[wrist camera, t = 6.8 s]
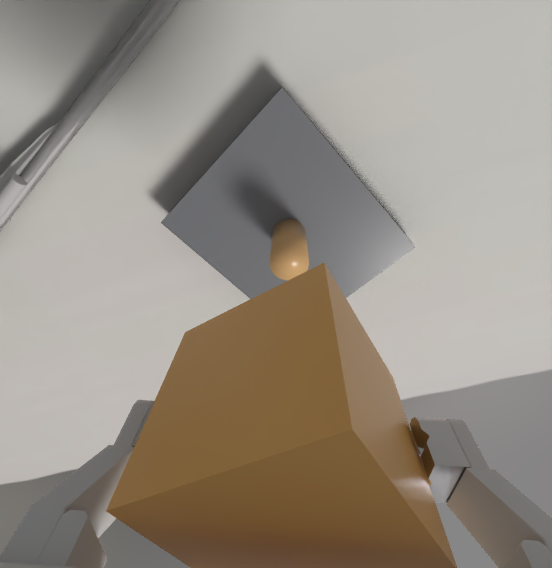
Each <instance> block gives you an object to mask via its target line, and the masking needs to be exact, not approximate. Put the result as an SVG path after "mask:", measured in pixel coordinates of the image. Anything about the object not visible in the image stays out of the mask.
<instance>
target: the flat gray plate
mask: <svg viewBox="0 0 552 568" xmlns="http://www.w3.org/2000/svg"><path fill="white" fill-rule="evenodd" d="M161 223H162V224H163V225H164V226H165V227H166V228H168V229H169V230H170V231H171V232H172V233H174V234H175V235H176V236H177V237H178V238H179V239H181V240H182V241H183V242H184V243H185V244H187V245H188V246H189V247H190V248H191V249H192V250H194V251H195V252H196V253H197V254H198V255H199V256H201V257H202V258H203V259H204V260H205V261H207V262H208V263H209V264H210V265H211V266H212V267H214V268H215V269H216V270H217V271H218V272H220V273H221V274H222V275H223V276H224V277H225V278H227V279H228V280H229V281H230V282H231V283H232V284H234V285H235V286H236V287H237V288H238V289H240V290H241V291H242V292H243V293H244V294H245V295H247V296H248V297H249V298H250V299H252V298H254V297H256V296H258V295H260V294H262V293H264V292H266V291H268V290H270V289H272V288H274V287H276V286H278V285H280V284H282V283H284V282H286V281H288V280H290V279H292V278H294V277H296V276H298V275H300V274H302V273H304V272H306V271H308V270H310V269H312V268H314V267H316V266H318V265H320V264H322V263H325V265H326V266H327V268H328V270H329V271H330V273H331V275H332V276H333V278H334V280H335V281H336V283H337V285H338V286H339V288H340V290H341V291H342V293H343V295H344V296H345V298H346V297H348V296H349V295H351V294H352V293H353V292H355V291H356V290H357V289H359V288H360V287H362V286H363V285H364V284H366V283H367V282H368V281H370V280H371V279H373V278H374V277H375V276H377V275H378V274H379V273H381V272H382V271H384V270H385V269H386V268H388V267H389V266H390V265H392V264H393V263H395V262H396V261H397V260H399V259H400V258H401V257H403V256H404V255H406V254H407V253H408V252H410V251H411V250H412V249H414V248H415V246H414V244H413V243H412V242H411V240H410V239H409V238H408V237H407V235H406V234H405V233H404V232H403V231H402V229H401V228H400V227H399V226H398V225H397V223H396V222H395V221H394V220H393V219H392V217H391V216H390V215H389V214H388V213H387V211H386V210H385V209H384V208H383V207H382V205H381V204H380V203H379V202H378V201H377V199H376V198H375V197H374V196H373V195H372V194H371V192H370V191H369V190H368V189H367V188H366V186H365V185H364V184H363V183H362V182H361V180H360V179H359V178H358V177H357V176H356V174H355V173H354V172H353V171H352V170H351V168H350V167H349V166H348V165H347V164H346V162H345V161H344V160H343V159H342V158H341V156H340V155H339V154H338V153H337V152H336V150H335V149H334V148H333V147H332V146H331V144H330V143H329V142H328V141H327V140H326V138H325V137H324V136H323V135H322V134H321V132H320V131H319V130H318V129H317V128H316V126H315V125H314V124H313V123H312V122H311V120H310V119H309V118H308V117H307V116H306V115H305V113H304V112H303V111H302V110H301V109H300V107H299V106H298V105H297V104H296V103H295V101H294V100H293V99H292V98H291V97H290V95H289V94H288V93H287V92H286V91H285V89H284V88H283V87H282V88H281V89H280V90H279V91H278V93H277V94H276V95H275V96H274V97H273V98H272V99H271V100H270V101H269V103H268V104H267V105H266V106H265V107H264V108H263V109H262V110H261V111H260V113H259V114H258V115H257V116H256V117H255V118H254V119H253V120H252V121H251V123H250V124H249V125H248V126H247V127H246V128H245V129H244V130H243V132H242V133H241V134H240V135H239V136H238V137H237V138H236V139H235V140H234V142H233V143H232V144H231V145H230V146H229V147H228V148H227V149H226V150H225V152H224V153H223V154H222V155H221V156H220V157H219V158H218V159H217V160H216V162H215V163H214V164H213V165H212V166H211V167H210V168H209V169H208V171H207V172H206V173H205V174H204V175H203V176H202V177H201V178H200V179H199V181H198V182H197V183H196V184H195V185H194V186H193V187H192V188H191V189H190V191H189V192H188V193H187V194H186V195H185V196H184V197H183V198H182V199H181V201H180V202H179V203H178V204H177V205H176V206H175V207H174V208H173V209H172V211H171V212H170V213H169V214H168V215H167V216H166V217H165V218H164V220H163V221H162V222H161Z"/></svg>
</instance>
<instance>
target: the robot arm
mask: <svg viewBox="0 0 552 568" xmlns="http://www.w3.org/2000/svg"><path fill="white" fill-rule="evenodd" d="M154 402H155V401H147V400H138V401H137V402H136V403H135V404H134V405H133V407H132V409H131V411H130V413H129V415H128V417H127V419H126V421H125V423H124V425H123V427H122V430H121V432H120V434H119V436H118V438H117V440H116V442H115V444H114V445H108V446H107V447H106V448H105V449H103V450H102V451H101V452H99V453H98V454H97V455H96V456H94V457H93V458H92V459H90V460H89V461H88V462H87V463H85V464H84V465H83V466H81V467H80V468H79V469H78V470H76V471H75V472H74V473H73V474H71V475H70V476H69V477H67V478H66V479H65V480H64V481H62V482H61V483H60V484H58V485H57V486H56V487H54V488H53V489H52V490H51V491H49V492H48V493H47V494H45V495H44V496H43V497H42V498H41V499H39V500H38V501H36V502H35V503H34V504H33V505H31V507H30V508H29V510H28V512H27V513H26V515H25V517H24V518H23V520H22V521H21V523H20V524H19V526H18V528H17V529H16V531H15V533H14V534H13V536H12V537H11V539H10V540H9V542H8V544H7V545H6V547H5V548H4V550H3V552H2V553H1V555H0V568H104V566H105V563H106V560H107V558H106V555H105V552H104V550H103V548H102V546H101V544H100V542H99V539H98V538H99V537H100V536H101V534H102V533H103V532H104V531H105V530H106V529H107V528H108V527H109V526H110V525H111V523H113V521H114V520H115V519H116V518H115V517H114V516H112V515H111V514H109V513H108V512H106V509H107V507H108V505H109V503H110V500H111V498H112V496H113V494H114V491H115V489H116V487H117V485H118V482H119V480H120V478H121V476H122V473H123V471H124V469H125V467H126V464H127V462H128V460H129V458H130V455H131V453H132V451H133V449H134V446H135V444H136V442H137V440H138V438H139V435H140V433H141V431H142V429H143V426H144V424H145V422H146V420H147V417H148V415H149V413H150V411H151V408H152V406H153V404H154ZM410 426H411V433H412V436H413V439H414V442H415V445H416V448H417V451H418V453H419V456H420V459H421V462H422V465H423V468H424V471H425V474H426V477H427V480H428V483H429V486H430V489H431V492H432V495H433V498H434V501H435V502H444V503H447V505H448V507H449V508H450V509H451V510H452V511H453V513H454V514H455V515H456V516H457V518H458V519H459V520H460V521H461V522H462V524H463V525H464V526H465V527H466V528H467V530H468V531H469V532H470V533H471V535H472V536H473V537H474V538H475V539H476V541H477V542H478V543H479V544H480V545H481V547H482V548H483V549H484V550H485V551H486V553H487V554H488V555H489V556H490V557H491V559H492V560H493V561H494V562H495V564H496V565H497V566H498V567H499V568H552V518H551V517H550V516H549V515H547V514H546V513H545V512H544V511H542V509H540V508H539V507H538V506H537V505H536V504H534V503H533V502H532V501H531V500H530V499H529V498H527V497H526V496H525V495H524V494H523V493H521V492H520V491H519V490H518V489H517V488H516V487H515V486H513V485H512V484H511V483H510V482H509V481H508V480H506V479H505V478H504V477H503V476H502V475H500V474H499V473H498V472H497V471H496V470H493V469H489V467H488V465H487V463H486V461H485V459H484V457H483V455H482V453H481V451H480V450H479V448H478V446H477V444H476V442H475V440H474V438H473V436H472V434H471V432H470V431H469V429H468V427H467V425H466V423H465V422H464V421H463V420H455V419H443V418H422V417H421V418H420V417H414V418H413V419H412V420H411V423H410Z"/></svg>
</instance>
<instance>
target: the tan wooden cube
mask: <svg viewBox="0 0 552 568" xmlns="http://www.w3.org/2000/svg"><path fill="white" fill-rule="evenodd" d="M106 512H108V513H109V514H111V515H112V516H114V517H115V518H117V519H119V520H120V521H121V522H123V523H125V524H126V525H128V526H129V527H130V528H132V529H134V530H135V531H136V532H138V533H139V534H141V535H143V536H144V537H145V538H147V539H149V540H150V541H152V542H153V543H154V544H156V545H157V546H159V547H160V548H162V549H164V550H165V551H166V552H168V553H169V554H171V555H172V556H174V557H176V558H177V559H179V560H180V561H182V562H183V563H185V564H186V565H188V566H189V567H191V568H457V566H456V563H455V560H454V557H453V554H452V551H451V548H450V545H449V542H448V539H447V536H446V534H445V531H444V528H443V524H442V522H441V519H440V516H439V513H438V510H437V507H436V504H435V501H434V498H433V495H432V492H431V489H430V486H429V483H428V480H427V477H426V474H425V471H424V468H423V465H422V462H421V459H420V456H419V453H418V451H417V448H416V445H415V442H414V439H413V436H412V433H411V430H410V427H409V424H408V421H407V418H406V415H405V412H404V409H403V406H402V403H401V400H400V397H399V394H398V391H397V388H396V385H395V382H394V379H393V377H392V375H391V374H390V372H389V370H388V368H387V367H386V365H385V363H384V362H383V360H382V358H381V357H380V355H379V353H378V352H377V350H376V348H375V347H374V345H373V343H372V342H371V340H370V338H369V337H368V335H367V333H366V332H365V330H364V328H363V327H362V325H361V323H360V322H359V320H358V318H357V317H356V315H355V313H354V311H353V310H352V308H351V306H350V305H349V303H348V301H347V300H346V298H345V296H344V295H343V293H342V291H341V290H340V288H339V286H338V285H337V283H336V281H335V280H334V278H333V276H332V275H331V273H330V271H329V270H328V268H327V266H326V265H325V263H322V264H320V265H318V266H316V267H314V268H312V269H310V270H308V271H306V272H304V273H302V274H300V275H298V276H296V277H294V278H292V279H290V280H288V281H286V282H284V283H282V284H280V285H278V286H276V287H274V288H272V289H270V290H268V291H266V292H264V293H262V294H260V295H258V296H256V297H254V298H252V299H250V300H248V301H246V302H245V303H243V304H241V305H239V306H237V307H235V308H233V309H231V310H229V311H227V312H225V313H223V314H221V315H219V316H217V317H215V318H213V319H211V320H209V321H207V322H205V323H203V324H201V325H199V326H197V327H195V328H193V329H191V330H189V331H187V332H185V334H184V336H183V339H182V341H181V343H180V345H179V348H178V350H177V352H176V354H175V357H174V359H173V361H172V363H171V366H170V368H169V370H168V372H167V375H166V377H165V379H164V381H163V384H162V386H161V388H160V390H159V393H158V395H157V397H156V399H155V402H154V404H153V406H152V408H151V411H150V413H149V415H148V417H147V420H146V422H145V424H144V426H143V429H142V431H141V433H140V435H139V438H138V440H137V442H136V444H135V446H134V449H133V451H132V453H131V455H130V458H129V460H128V462H127V464H126V467H125V469H124V471H123V473H122V476H121V478H120V480H119V482H118V485H117V487H116V489H115V491H114V494H113V496H112V498H111V500H110V503H109V505H108V507H107V509H106Z"/></svg>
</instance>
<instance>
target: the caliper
mask: <svg viewBox="0 0 552 568" xmlns="http://www.w3.org/2000/svg"><path fill="white" fill-rule="evenodd" d="M179 1H180V0H150V1H149V3H148V4H147V5H146V7H145V8H144V9H143V11H142V12H141V13H140V15H139V16H138V17H137V19H136V20H135V21H134V23H133V24H132V25H131V27H130V28H129V29H128V31H127V32H126V33H125V35H124V36H123V37H122V39H121V40H120V42H119V43H118V44H117V46H116V47H115V48H114V50H113V51H112V52H111V54H110V55H109V56H108V58H107V59H106V60H105V62H104V63H103V64H102V66H101V67H100V68H99V70H98V71H97V72H96V74H95V75H94V76H93V78H92V79H91V80H90V82H89V83H88V84H87V86H86V87H85V88H84V90H83V91H82V92H81V94H80V95H79V96H78V98H77V99H76V101H75V102H74V103H73V105H72V106H71V107H70V109H69V110H68V111H67V113H66V114H65V115H64V117H63V118H62V119H61V121H60V122H58V123H57V124H55V125H53V126H52V127H50V128H48V129H47V130H46V131H45V132H44V133H43V134H42V135H41V136H39V137H38V138H37V139H36V140H35V141H34V142H33V143H32V144H31V145H30V146H29V147H28V148H27V149H26V150H25V151H24V152H23V153H22V154H21V155H20V156H19V157H17V158H16V159H15V160H14V161H13V162H12V163H11V164H10V165H9V166H8V168H7V169H6V170H5V171H4V172H3V173H2V174H1V175H0V231H1V229H2V228H3V227H4V225H5V224H6V223H7V222H9V221H11V216H12V215H13V214H14V213H15V211H16V210H17V209H18V208H19V206H20V205H21V204H22V202H23V201H24V200H25V199H26V197H27V196H28V195H29V193H30V192H31V191H32V190H33V188H34V187H35V186H36V184H37V183H38V182H39V181H40V179H41V178H42V177H43V175H44V174H45V173H46V172H47V170H48V169H49V168H50V167H51V165H52V164H53V163H54V161H55V160H56V159H57V158H58V156H59V155H60V154H61V152H62V151H63V150H64V149H65V147H66V146H67V145H68V143H69V142H70V141H71V140H72V138H73V137H74V136H75V134H76V133H77V132H78V131H79V129H80V128H81V127H82V126H83V124H84V123H85V122H86V120H87V119H88V118H89V117H90V115H91V114H92V113H93V111H94V110H95V109H96V108H97V106H98V105H99V104H100V102H101V101H102V100H103V99H104V97H105V96H106V95H107V93H108V92H109V91H110V90H111V88H112V87H113V86H114V85H115V83H116V82H117V81H118V79H119V78H120V77H121V76H122V74H123V73H124V72H125V70H126V69H127V68H128V67H129V65H130V64H131V63H132V61H133V60H134V59H135V58H136V56H137V55H138V54H139V52H140V51H141V50H142V49H143V47H144V46H145V45H146V44H147V42H148V41H149V40H150V38H151V37H152V36H153V35H154V33H155V32H156V31H157V29H158V28H159V27H160V26H161V24H162V23H163V22H164V20H165V19H166V18H167V17H168V15H169V14H170V13H171V11H172V10H173V9H174V8H175V6H176V5H177V4H178V3H179Z"/></svg>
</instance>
